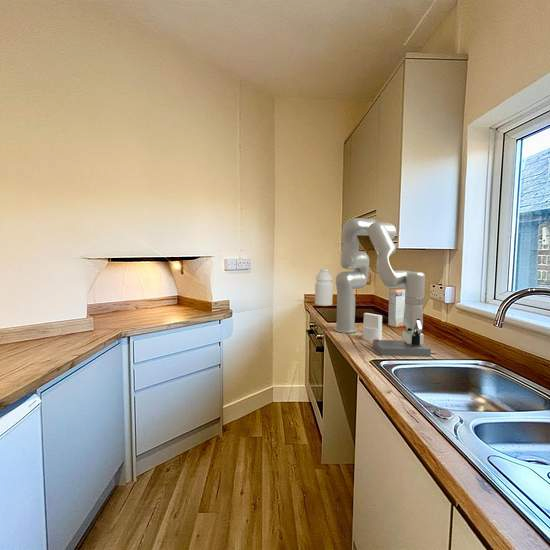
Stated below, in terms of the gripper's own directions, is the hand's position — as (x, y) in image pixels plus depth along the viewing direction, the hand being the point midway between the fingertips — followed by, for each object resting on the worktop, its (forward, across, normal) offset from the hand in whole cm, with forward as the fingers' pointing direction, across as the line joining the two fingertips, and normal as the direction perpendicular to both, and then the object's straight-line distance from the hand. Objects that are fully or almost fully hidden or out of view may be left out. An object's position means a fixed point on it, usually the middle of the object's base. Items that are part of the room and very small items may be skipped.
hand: (412, 342), depth 144 cm
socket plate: (+4, 0, -5) cm, 6 cm away
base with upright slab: (+4, -20, -12) cm, 23 cm away
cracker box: (+4, -50, +12) cm, 51 cm away
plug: (+2, 0, 0) cm, 2 cm away
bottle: (+4, -120, -24) cm, 122 cm away
